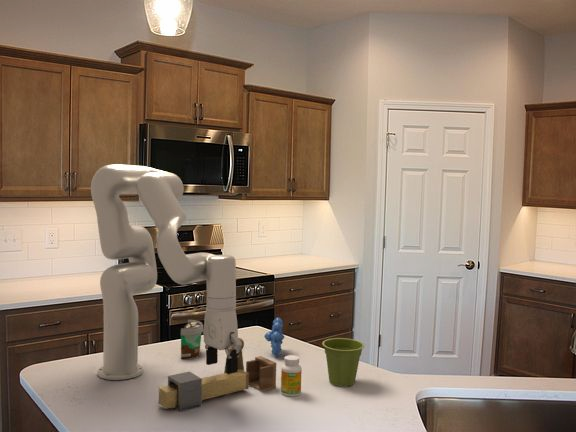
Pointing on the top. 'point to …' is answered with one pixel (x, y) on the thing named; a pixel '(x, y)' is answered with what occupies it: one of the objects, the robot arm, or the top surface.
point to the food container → (191, 339)
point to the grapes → (275, 336)
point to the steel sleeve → (187, 390)
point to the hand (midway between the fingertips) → (221, 368)
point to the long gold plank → (207, 387)
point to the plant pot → (342, 360)
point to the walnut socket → (261, 373)
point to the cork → (240, 358)
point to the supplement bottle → (291, 376)
